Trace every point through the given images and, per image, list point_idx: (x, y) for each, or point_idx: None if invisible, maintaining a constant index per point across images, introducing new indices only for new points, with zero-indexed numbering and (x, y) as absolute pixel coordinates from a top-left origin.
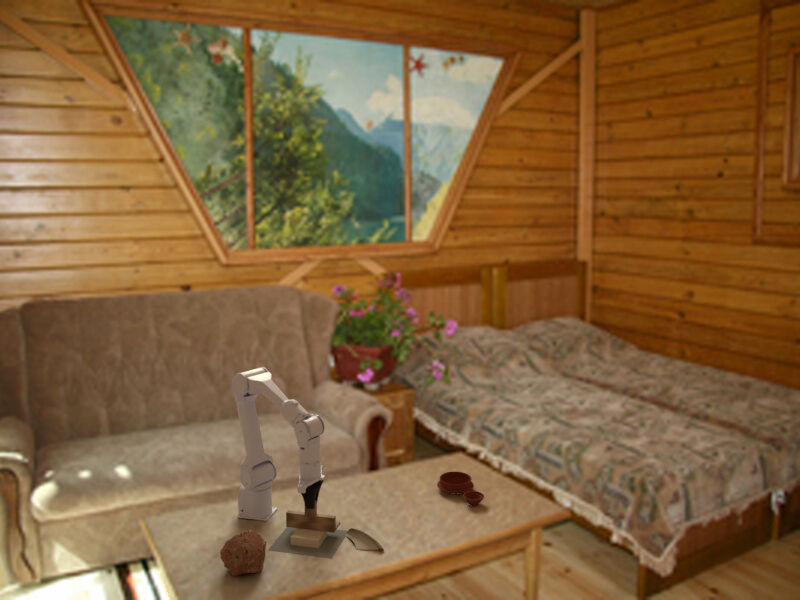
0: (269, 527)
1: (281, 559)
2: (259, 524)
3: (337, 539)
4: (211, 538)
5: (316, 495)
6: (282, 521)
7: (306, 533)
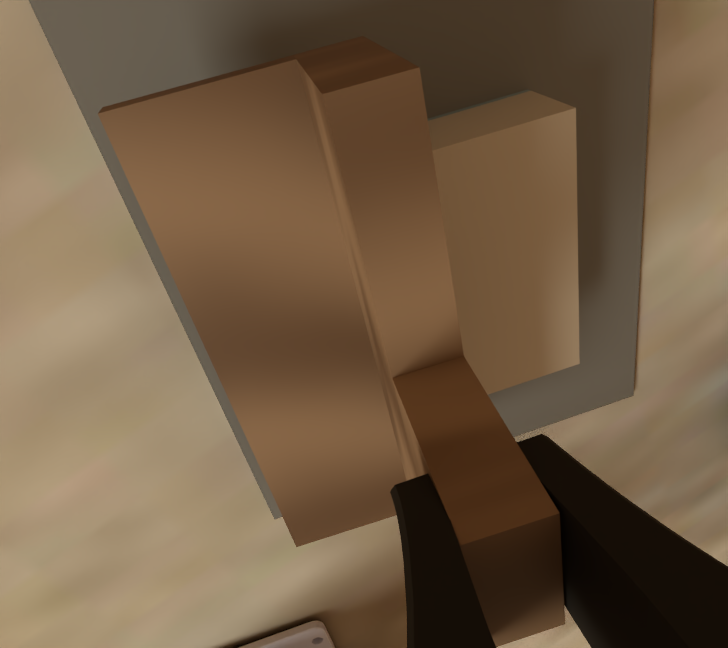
0: (372, 563)
1: (716, 256)
2: (368, 614)
3: (285, 11)
4: (578, 640)
5: (490, 635)
6: (263, 566)
7: (488, 295)
